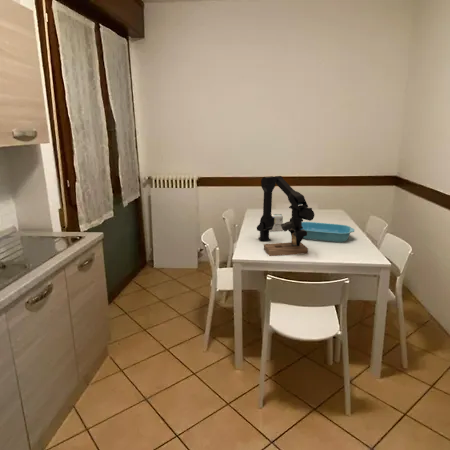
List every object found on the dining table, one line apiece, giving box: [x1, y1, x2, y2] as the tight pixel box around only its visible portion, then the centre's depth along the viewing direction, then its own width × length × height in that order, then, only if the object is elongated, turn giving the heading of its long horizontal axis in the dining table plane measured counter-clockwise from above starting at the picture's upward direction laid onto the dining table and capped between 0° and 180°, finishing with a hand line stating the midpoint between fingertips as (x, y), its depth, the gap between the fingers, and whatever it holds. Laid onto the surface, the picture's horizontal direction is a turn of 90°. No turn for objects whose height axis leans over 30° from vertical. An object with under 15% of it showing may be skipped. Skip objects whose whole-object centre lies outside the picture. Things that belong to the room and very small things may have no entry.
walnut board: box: [263, 242, 309, 257], centre depth 207 cm, size 12×22×3 cm, turn 98°
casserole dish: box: [302, 221, 356, 243], centre depth 232 cm, size 37×22×7 cm, turn 70°
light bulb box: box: [269, 213, 284, 232], centre depth 249 cm, size 11×7×11 cm, turn 92°
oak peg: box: [290, 233, 300, 247], centre depth 207 cm, size 5×5×10 cm
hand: (295, 243), depth 207 cm, fingers open, 6 cm apart
